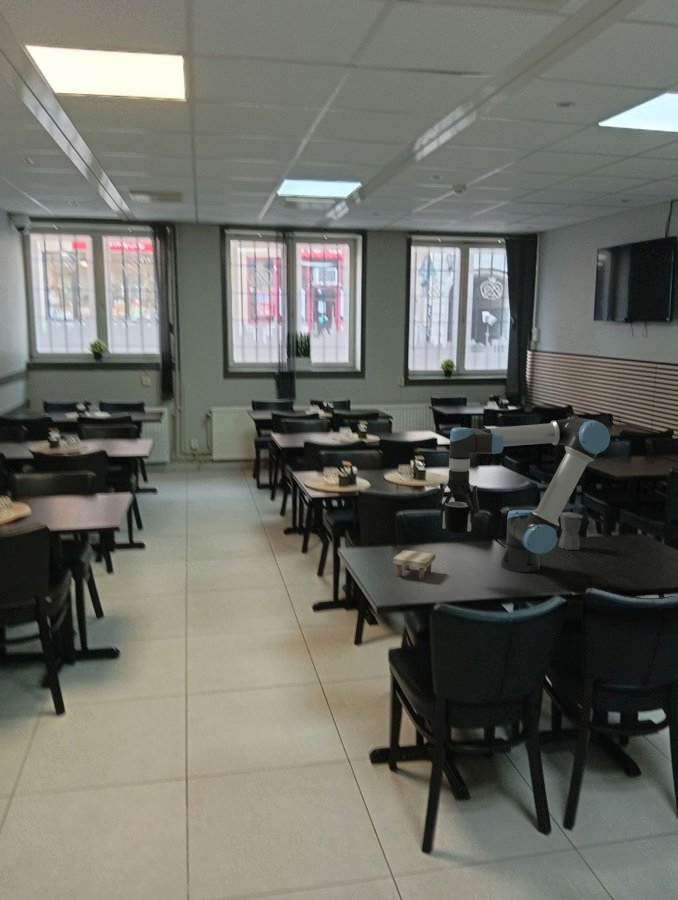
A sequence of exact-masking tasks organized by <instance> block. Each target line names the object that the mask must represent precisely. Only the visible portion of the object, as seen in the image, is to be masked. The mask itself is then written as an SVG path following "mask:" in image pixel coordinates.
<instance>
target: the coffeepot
mask: <svg viewBox="0 0 678 900" xmlns="http://www.w3.org/2000/svg"><path fill="white" fill-rule="evenodd" d="M559 518H560V527H561V528H560V529H561V530H562V531H561V534H560V538H559V542H558V546H559V547H561V548H565V549H579V547H580V548H581V544H580V542H581V541H580V535H582V536H583V535H585V534H586V533H587V532H586V531H587V529H588V527H589V525H590V521H589V518H588V516H583V515H582V514H580V513H578V512H574V508H572V507H571V508H569V511H567V512H566V511H565V512H563V511H562V513H561V514H560V516H559ZM582 521H584V524H583V525H584V526H583V528H582V532H581V531H580V529H581V523H582ZM579 531H580V532H579ZM559 547H558V548H559ZM579 550H580V549H579Z"/></svg>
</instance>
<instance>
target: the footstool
mask: <svg viewBox="0 0 678 900" xmlns="http://www.w3.org/2000/svg"><path fill="white" fill-rule="evenodd" d="M436 557H437V555H436V554H435V553H430V552H429V553H428V552H423V551H422V552H421V551H416V550H415V551H414V550H407V549H403V550H401V551H400V553H398V554H397V555H395V556H394V557H393V558H392V565H393V564H394V565H396V571H395V572H396V577H402V574H403V573H402V572H403V570H404V569H405V571H409V570H410V567H412V568H419V569H418V580H420V581H425V575H426V574H425V573H427V574H431V573H432V563H433V562H434V561H435V560H436ZM402 568H403V569H402ZM408 569H409V570H408Z"/></svg>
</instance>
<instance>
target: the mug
mask: <svg viewBox="0 0 678 900" xmlns="http://www.w3.org/2000/svg"><path fill="white" fill-rule="evenodd" d="M469 513H470V511H469V506H467V504H466V502H463V501H462V502H461V501H449V502H448V503H447V505H446V503H445V523H446V528H445V529H446V530H447V531H448V532H449V533H453V534H461V533H465V531H466V529H467V528H468V514H469Z"/></svg>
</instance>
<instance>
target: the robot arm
mask: <svg viewBox="0 0 678 900" xmlns="http://www.w3.org/2000/svg"><path fill="white" fill-rule="evenodd" d="M610 441H611V435H610V432H609V429H608V427H607V426H606V425H605V424H604V423H602V422H599V421H597V420H594V419H588V418H584V417H572V418H564V419H558V420H551V422H550V423H541V424H540V423H539V424H530V425H529V424H528V425H527V424H526V425H516V426H515V425H514V426H503V427H501V426H500V427H492V428H491V427H490V428H476V427H473V428H469V427H459V426H457V427H453V428H451V430H450V436H449V459H448V461H449V462H448V468H449V470H448V481H447V482H441V483H440V484H439V492H438V497H437V501H436V505H435V509H436V510H439V511H440V518H439V519H440V520H442V529H444V530H445V529H447V528H446V523H445V503H446V505H447V503H448V502H451V499H452V498H453V496H454V495H459V496H462V498H463V499H464V503H466V504H467V506H469V514H468V522H467V532H471V531H472V523H474V522H475V516H476V515H475V514H479V512H480V511H481V508H480V503H479V496H478V485H471V483H470V471H469V470H470V469H471V454H473V455H474V454H476V455H477V454H484V455H485V454H486V455H487V454H489V455H491V454H492V455H495V454H501V453H503V449H504V447H513V446H515V447H516V446H524V445H525V446H527V445H540V444H552V445H553V446H559V445H561V446H564V449H565V454H564V455H563V456H564V457H563V458H562V460H561V462H560V463H559V465H558V467H557V469H556V472H555V473H554V475H553V477H552V479H551V481H550V483H549V485H548V487H547V489H546V490H545V492H544V494H543V496H542V498H541V500H540V502H539V503H538V505H537V508H535V509H532V510H531V509H513V510H509V512H508V513H507V518H506V520H507V523H506V543H505V544H506V545H505V549H504V551H503V554H502V555H501V558H500V566H501V567H502V568H503V569H505V570H508V571H511V572H517V573H533V572H536V571H540V568H541V567H540V565H541V563H540V559H539V555H543V554H547V553H549V552H550V551H552V550H553V549H554V548H555V546H556V544H557V541H558V536H557V531H558V529H559V528H560V523H559V518H560V514H561V513H562V512H563V510H564V508H566V507H565V506H567V503H568V501H569V500H570V498H571V495H572V494H573V492H574V490H575V488H576V486H577V484H578V482H579V480H580V478H581V477H582V475H583V473H584V471H585V469H586V467H587V465H588V464H589V463H591V462H594V461H595V459H596V458H597V455H598V454H599V453H600V454H601V453H603V452H604V451H605V450H606V449H607V448H608V447H609V444H610ZM447 488H448V489H449V492H448V494H447V496H446V498H445V500H444V501H443V499H444V495H445V491H446V489H447ZM469 489H470V491H471V495H472V501H471V498H470V496H469V493H468V490H469ZM442 501H443V502H442ZM472 502H473V503H472ZM538 554H539V555H538Z"/></svg>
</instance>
